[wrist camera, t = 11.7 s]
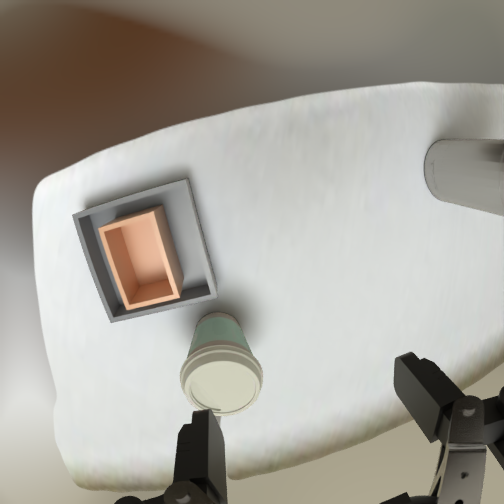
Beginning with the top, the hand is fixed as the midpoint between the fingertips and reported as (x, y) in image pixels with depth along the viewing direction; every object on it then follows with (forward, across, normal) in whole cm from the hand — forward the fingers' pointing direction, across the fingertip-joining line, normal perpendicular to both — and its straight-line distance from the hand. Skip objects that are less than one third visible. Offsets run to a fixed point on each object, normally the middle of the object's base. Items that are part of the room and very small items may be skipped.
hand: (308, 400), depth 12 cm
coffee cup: (+27, +7, +10) cm, 29 cm away
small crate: (+26, +12, -3) cm, 28 cm away
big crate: (+26, +12, -3) cm, 29 cm away
